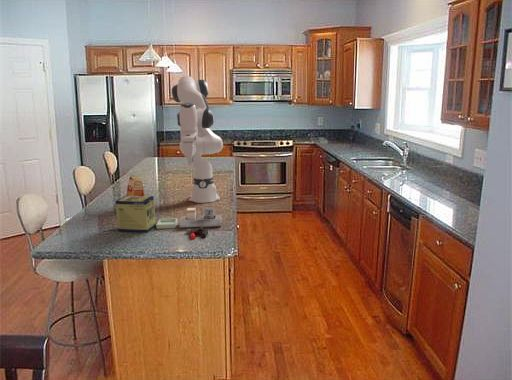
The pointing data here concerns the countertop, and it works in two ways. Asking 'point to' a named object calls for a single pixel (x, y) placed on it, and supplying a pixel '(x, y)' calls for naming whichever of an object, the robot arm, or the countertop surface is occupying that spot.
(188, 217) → the plug
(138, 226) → the protein box
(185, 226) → the grey box with openings
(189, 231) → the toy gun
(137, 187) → the milk carton
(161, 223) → the tray
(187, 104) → the robot arm
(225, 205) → the countertop surface
